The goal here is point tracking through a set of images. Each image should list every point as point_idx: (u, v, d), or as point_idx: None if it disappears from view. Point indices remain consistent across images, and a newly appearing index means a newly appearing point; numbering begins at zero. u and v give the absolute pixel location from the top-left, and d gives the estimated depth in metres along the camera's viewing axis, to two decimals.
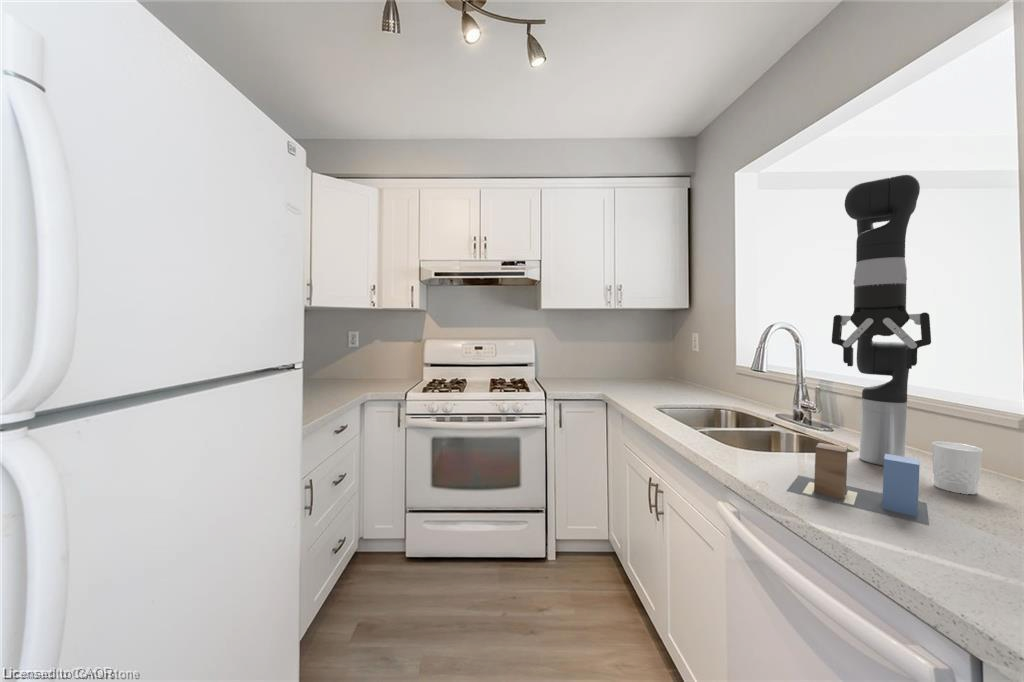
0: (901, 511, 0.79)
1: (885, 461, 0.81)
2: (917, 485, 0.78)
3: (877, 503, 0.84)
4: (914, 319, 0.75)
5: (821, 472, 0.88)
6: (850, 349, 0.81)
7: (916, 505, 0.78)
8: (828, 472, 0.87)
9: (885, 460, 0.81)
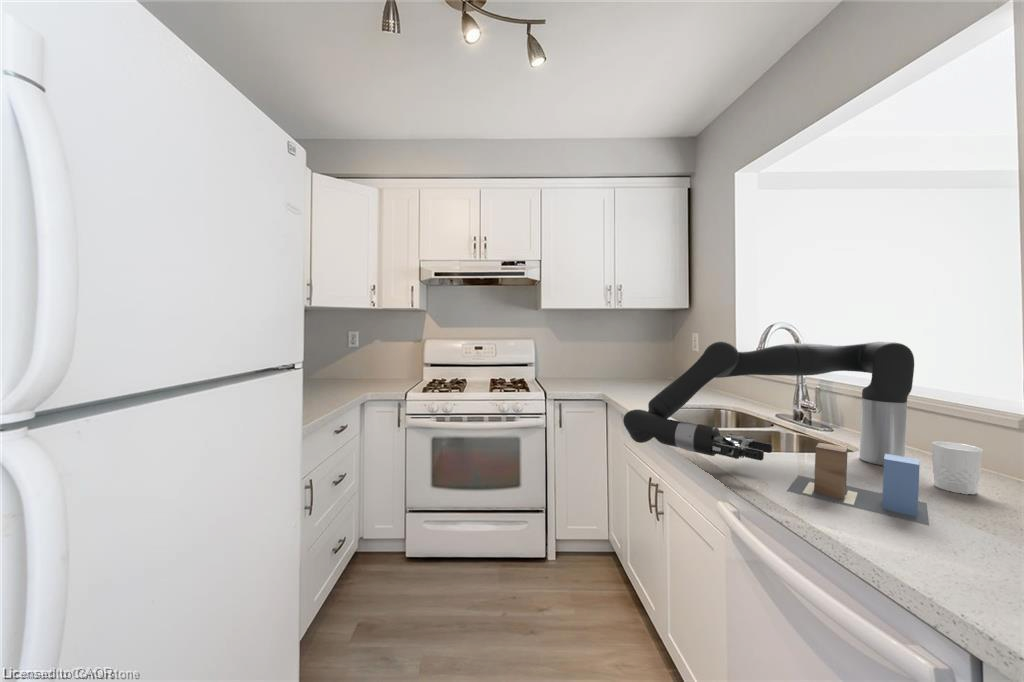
0: (901, 511, 0.79)
1: (885, 461, 0.81)
2: (917, 485, 0.78)
3: (877, 503, 0.84)
4: None
5: (821, 472, 0.88)
6: None
7: (916, 505, 0.78)
8: (828, 472, 0.87)
9: (885, 460, 0.81)
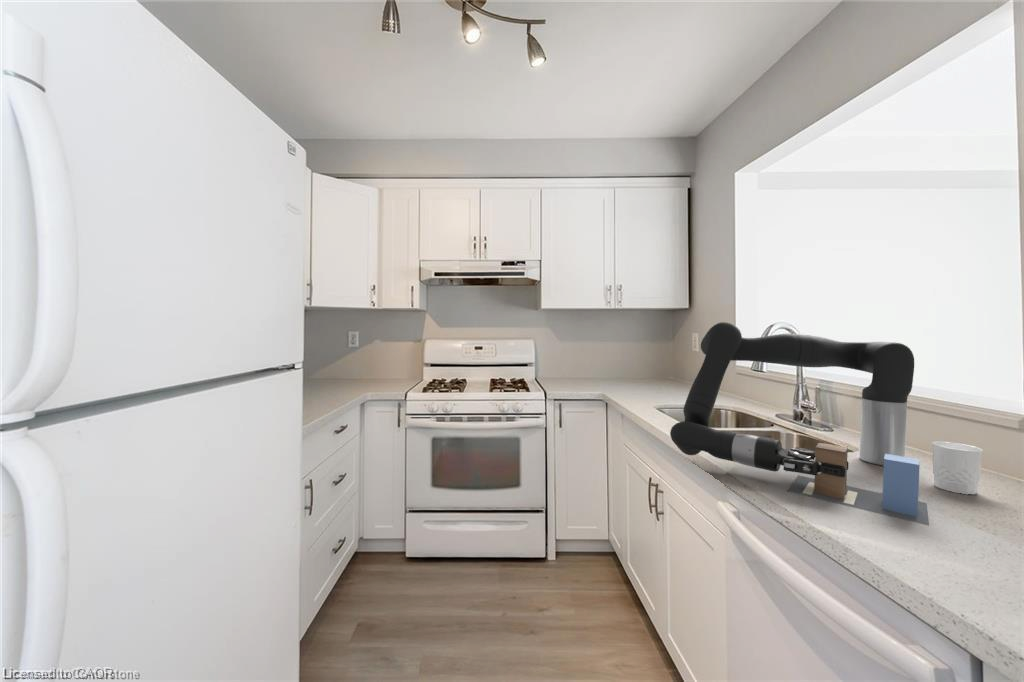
0: (901, 511, 0.79)
1: (885, 461, 0.81)
2: (917, 485, 0.78)
3: (877, 503, 0.84)
4: None
5: None
6: None
7: (916, 505, 0.78)
8: None
9: (885, 460, 0.81)
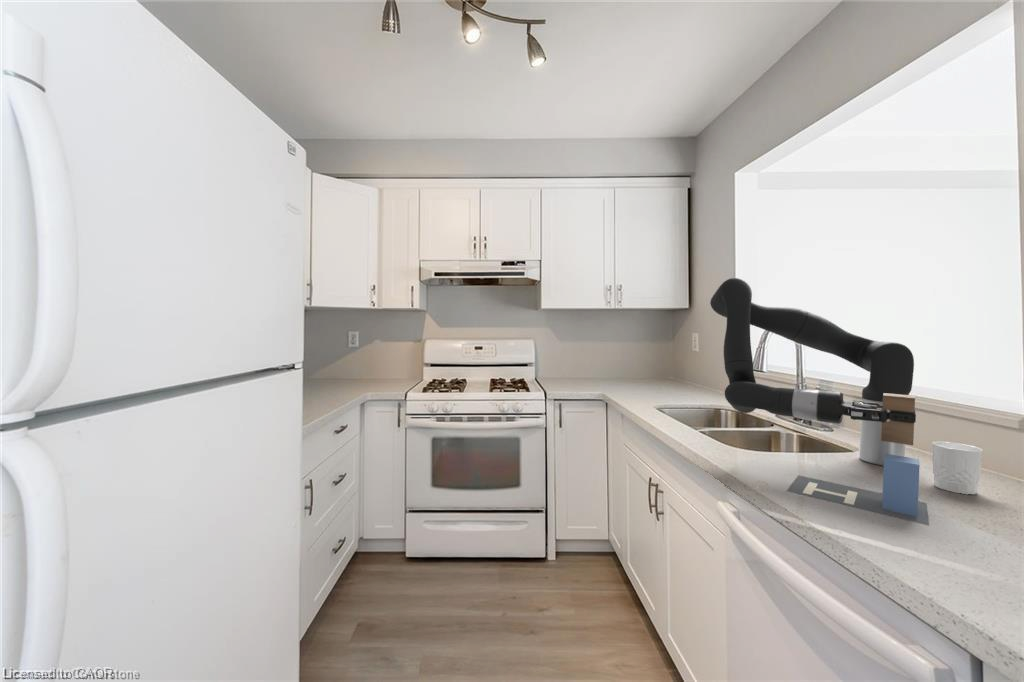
0: (901, 511, 0.79)
1: (885, 461, 0.81)
2: (917, 485, 0.78)
3: (877, 503, 0.84)
4: None
5: None
6: None
7: (916, 505, 0.78)
8: None
9: (885, 460, 0.81)
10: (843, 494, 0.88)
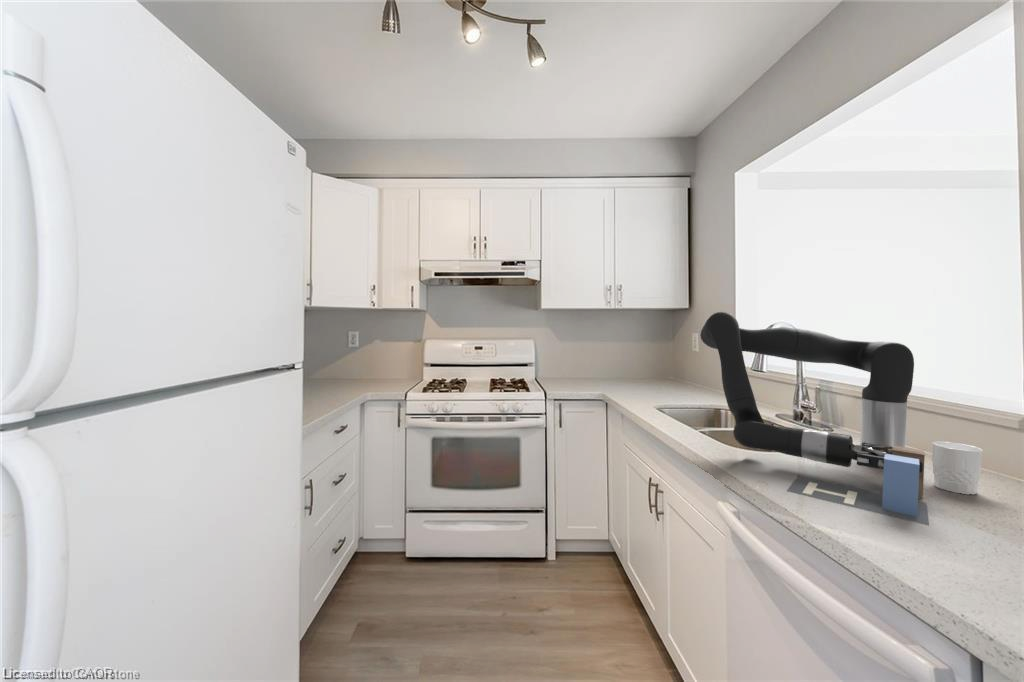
0: (901, 511, 0.79)
1: (885, 461, 0.81)
2: (917, 485, 0.78)
3: (877, 503, 0.84)
4: None
5: None
6: None
7: (916, 505, 0.78)
8: None
9: (885, 460, 0.81)
10: (843, 494, 0.88)
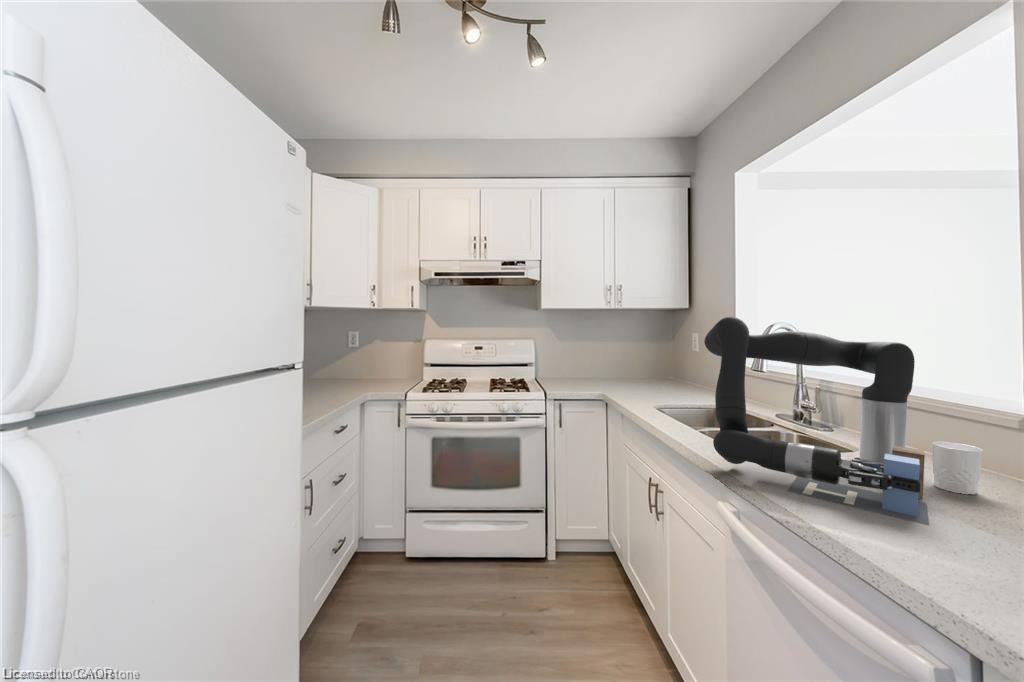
0: (901, 511, 0.79)
1: (885, 461, 0.81)
2: None
3: (877, 503, 0.84)
4: None
5: None
6: None
7: (916, 505, 0.78)
8: None
9: (885, 460, 0.81)
10: (843, 494, 0.88)
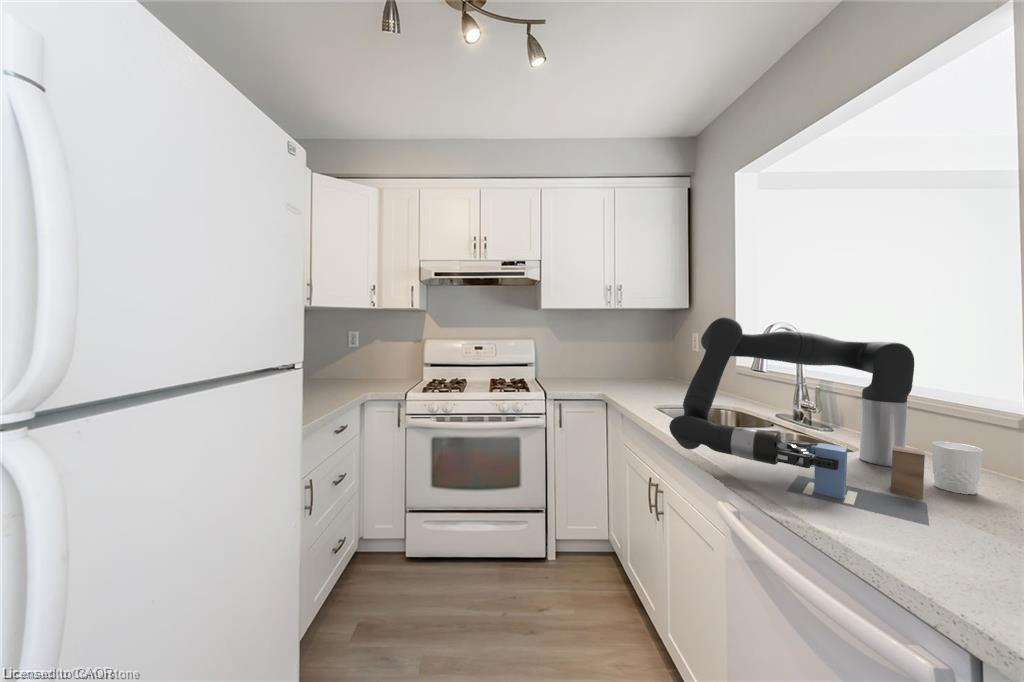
0: (830, 494, 0.87)
1: (816, 449, 0.88)
2: (843, 470, 0.85)
3: (877, 503, 0.84)
4: None
5: (898, 475, 0.89)
6: None
7: (842, 489, 0.85)
8: (906, 474, 0.88)
9: (816, 448, 0.88)
10: None
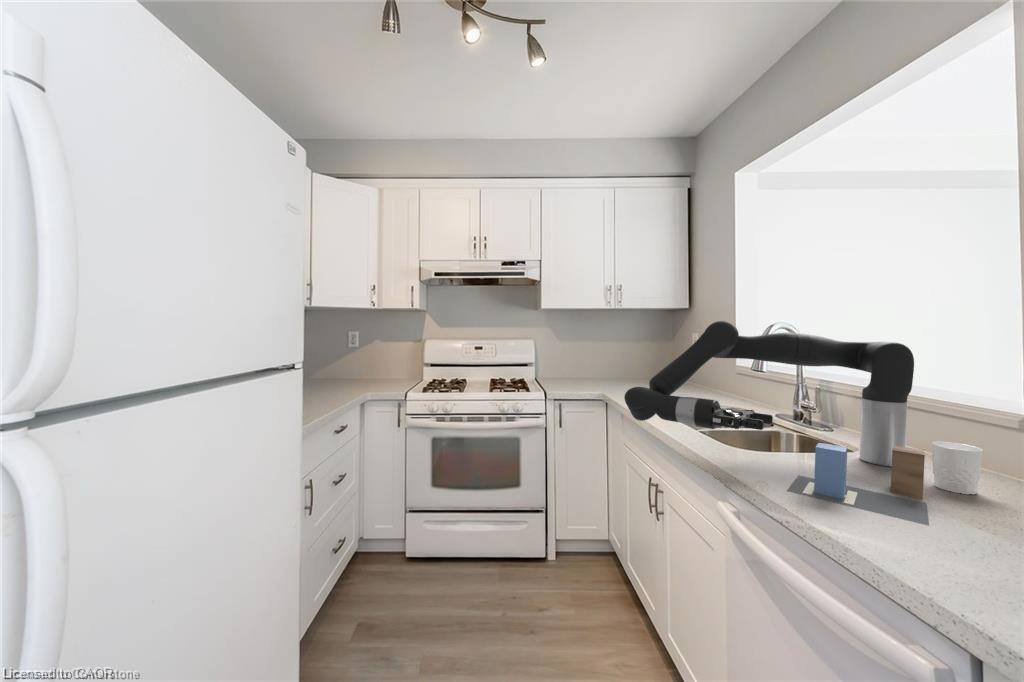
0: (830, 494, 0.87)
1: (816, 449, 0.88)
2: (843, 470, 0.85)
3: (877, 503, 0.84)
4: None
5: (898, 475, 0.89)
6: None
7: (842, 489, 0.85)
8: (906, 474, 0.88)
9: (816, 448, 0.88)
10: None
